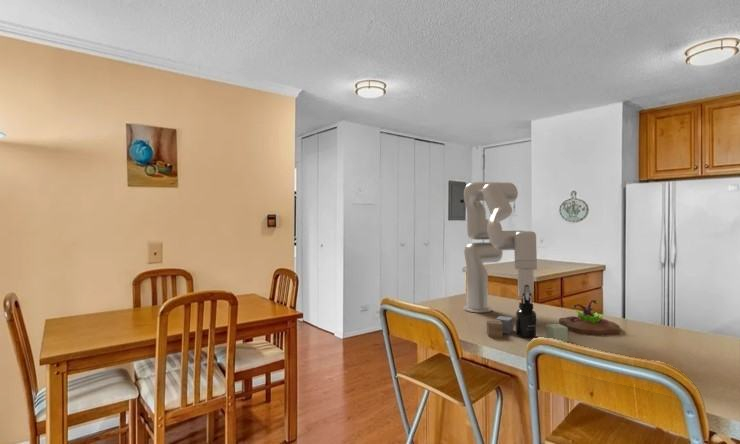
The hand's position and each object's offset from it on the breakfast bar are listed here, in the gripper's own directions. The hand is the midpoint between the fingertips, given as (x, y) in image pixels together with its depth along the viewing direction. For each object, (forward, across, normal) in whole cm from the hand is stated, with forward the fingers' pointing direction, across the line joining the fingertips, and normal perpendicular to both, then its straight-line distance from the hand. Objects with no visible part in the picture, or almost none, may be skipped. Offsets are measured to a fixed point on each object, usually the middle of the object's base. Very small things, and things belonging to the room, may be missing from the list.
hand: (526, 311), depth 142 cm
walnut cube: (+9, +1, -11) cm, 15 cm away
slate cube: (+9, -5, -8) cm, 13 cm away
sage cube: (+9, +1, +10) cm, 13 cm away
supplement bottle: (+9, -1, 0) cm, 9 cm away
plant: (+9, -18, +23) cm, 31 cm away
